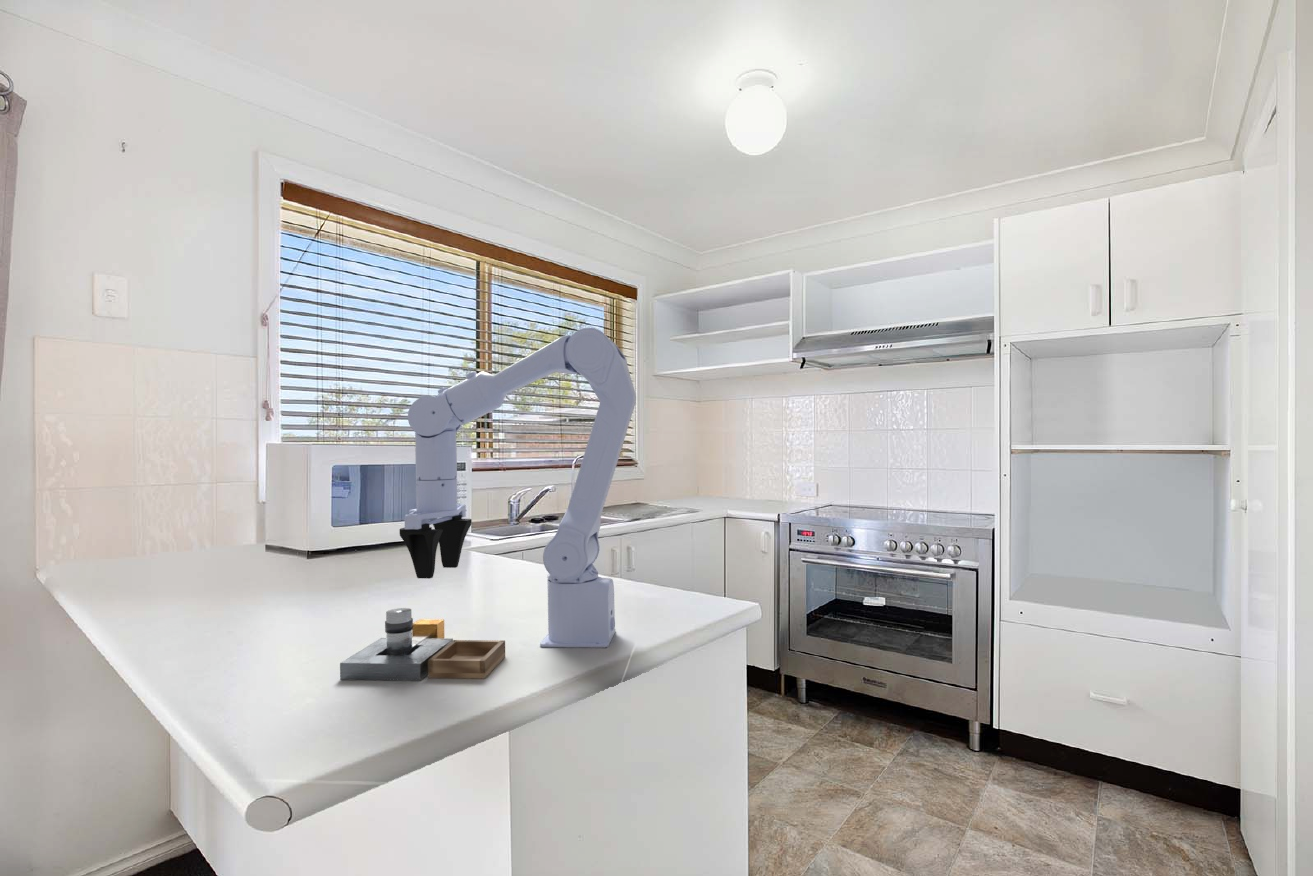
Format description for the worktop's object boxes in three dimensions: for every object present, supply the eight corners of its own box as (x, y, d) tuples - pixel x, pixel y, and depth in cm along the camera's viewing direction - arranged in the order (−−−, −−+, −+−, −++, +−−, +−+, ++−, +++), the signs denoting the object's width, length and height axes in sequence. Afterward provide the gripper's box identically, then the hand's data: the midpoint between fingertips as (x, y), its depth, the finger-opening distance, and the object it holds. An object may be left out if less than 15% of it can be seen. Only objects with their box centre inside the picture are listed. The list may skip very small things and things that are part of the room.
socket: (381, 652, 89) (381, 637, 89) (453, 653, 89) (452, 638, 89) (340, 679, 79) (339, 663, 79) (420, 680, 79) (420, 663, 79)
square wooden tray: (505, 656, 87) (505, 640, 87) (484, 678, 79) (484, 661, 79) (453, 656, 88) (453, 640, 88) (428, 677, 80) (427, 660, 80)
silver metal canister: (418, 661, 86) (417, 607, 86) (406, 670, 82) (405, 614, 82) (393, 661, 86) (392, 607, 86) (380, 670, 82) (379, 614, 82)
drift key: (420, 641, 94) (419, 619, 94) (444, 642, 94) (444, 619, 94) (392, 661, 86) (392, 636, 86) (419, 661, 86) (418, 636, 86)
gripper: (435, 476, 104) (436, 562, 104) (383, 482, 90) (384, 582, 90) (477, 476, 103) (479, 563, 103) (431, 482, 89) (433, 583, 89)
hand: (438, 572), depth 96 cm, fingers open, 7 cm apart
